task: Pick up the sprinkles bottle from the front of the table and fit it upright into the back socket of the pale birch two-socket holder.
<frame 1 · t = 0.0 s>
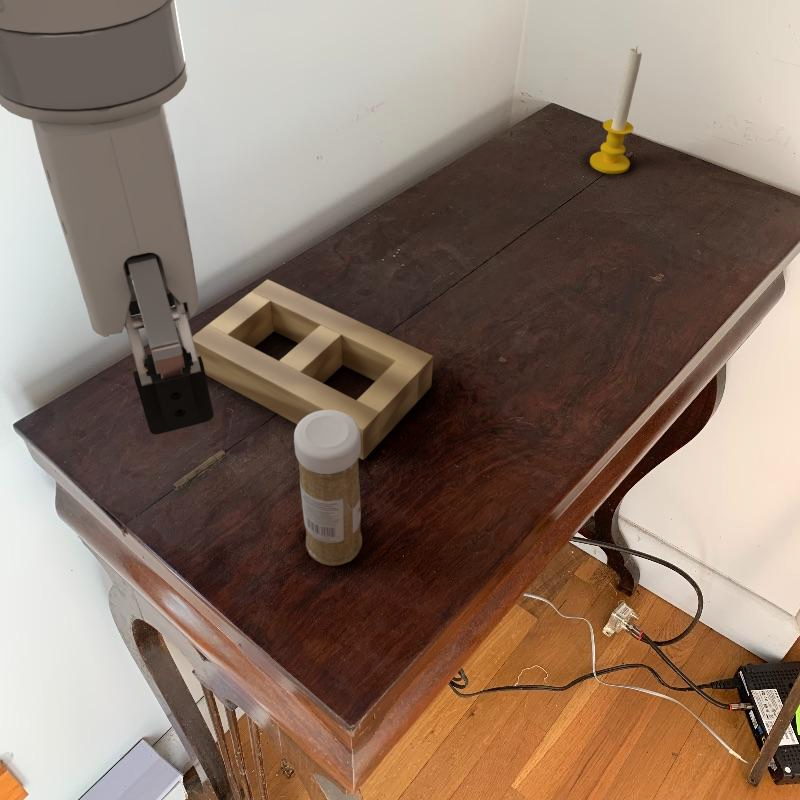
hand: (164, 362, 44), 24 cm above the table, tool pointing down, fingers open, 9 cm apart
sprinkles bottle: (333, 545, 64), on the table
candle: (609, 165, 107), on the table
holder: (313, 378, 77), on the table
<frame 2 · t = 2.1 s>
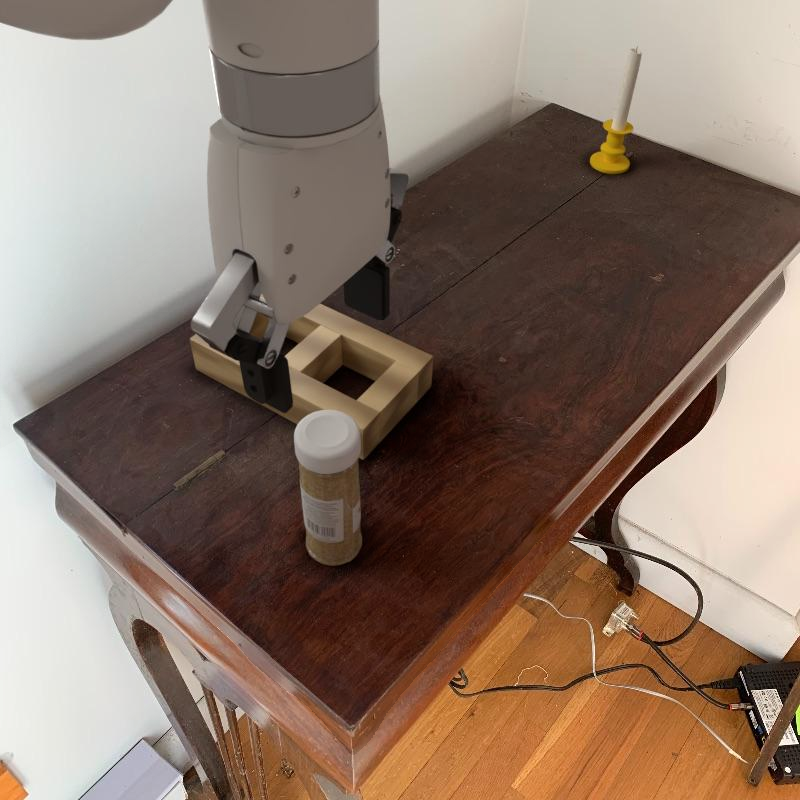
hand: (320, 353, 49), 21 cm above the table, tool pointing down, fingers open, 9 cm apart
nothing on the table moved.
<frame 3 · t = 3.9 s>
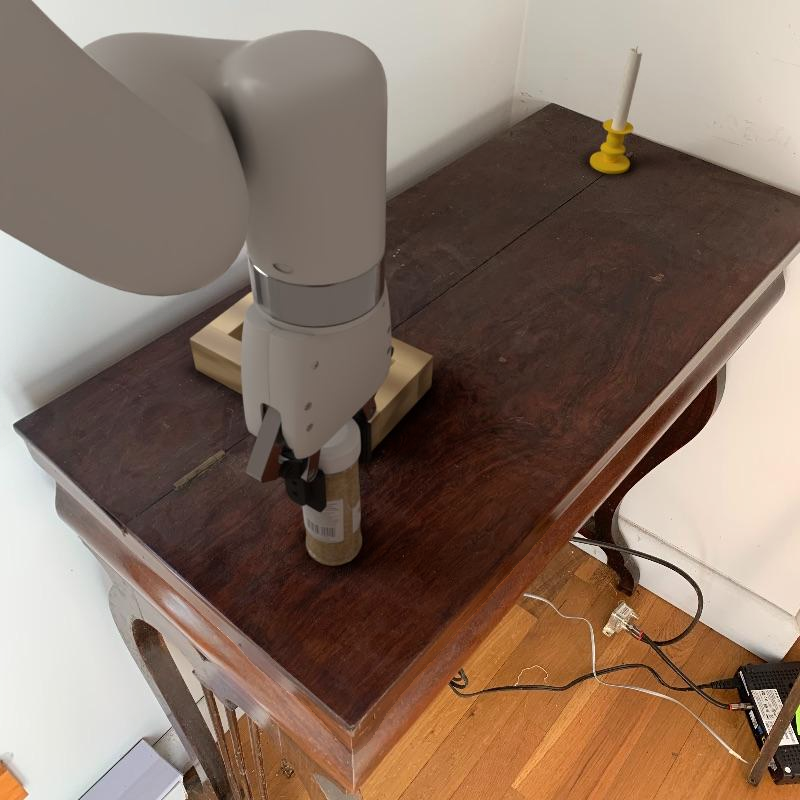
hand: (329, 474, 58), 9 cm above the table, tool pointing down, fingers closed on sprinkles bottle, 4 cm apart
sprinkles bottle: (333, 545, 64), on the table, touching gripper
everything else where it was.
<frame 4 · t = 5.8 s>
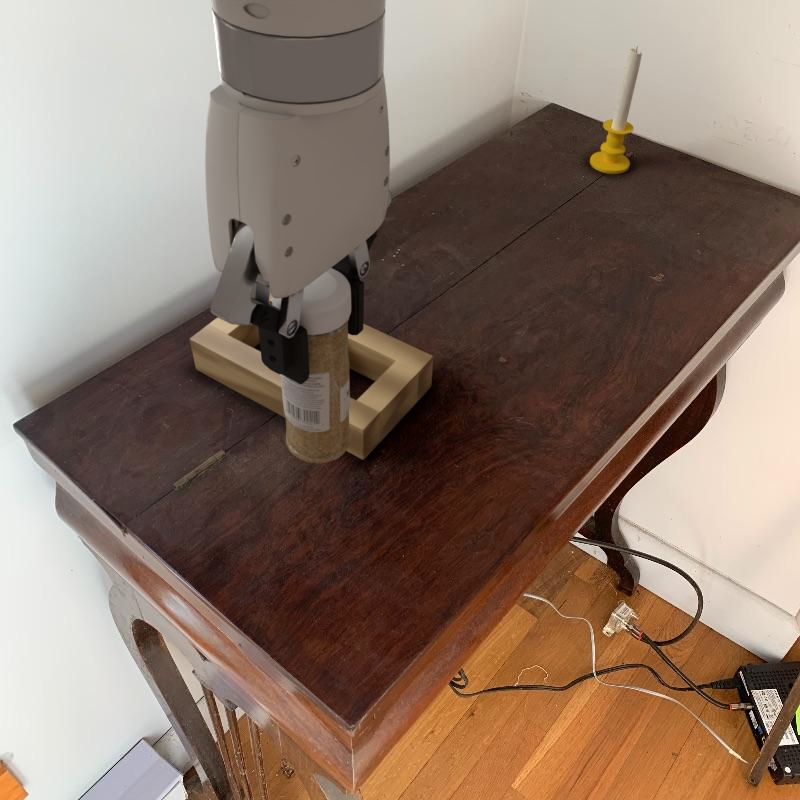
hand: (313, 345, 49), 21 cm above the table, tool pointing down, fingers closed on sprinkles bottle, 4 cm apart
sprinkles bottle: (317, 442, 56), point 12 cm above the table, touching gripper
everything else where it was.
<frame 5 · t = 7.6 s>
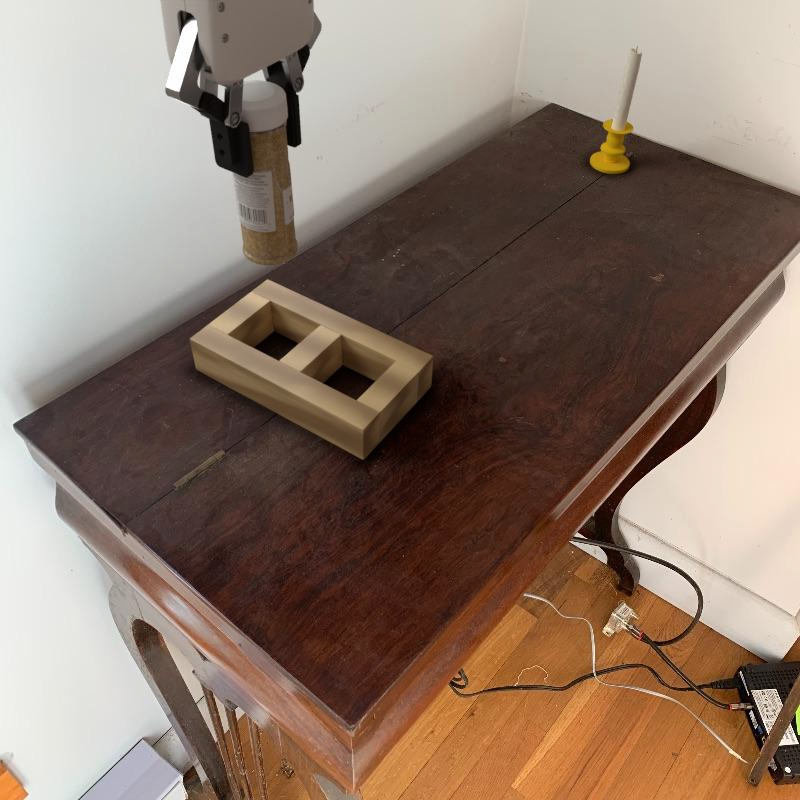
hand: (259, 153, 59), 24 cm above the table, tool pointing down, fingers closed on sprinkles bottle, 4 cm apart
sprinkles bottle: (270, 253, 66), point 15 cm above the table, touching gripper
everything else where it was.
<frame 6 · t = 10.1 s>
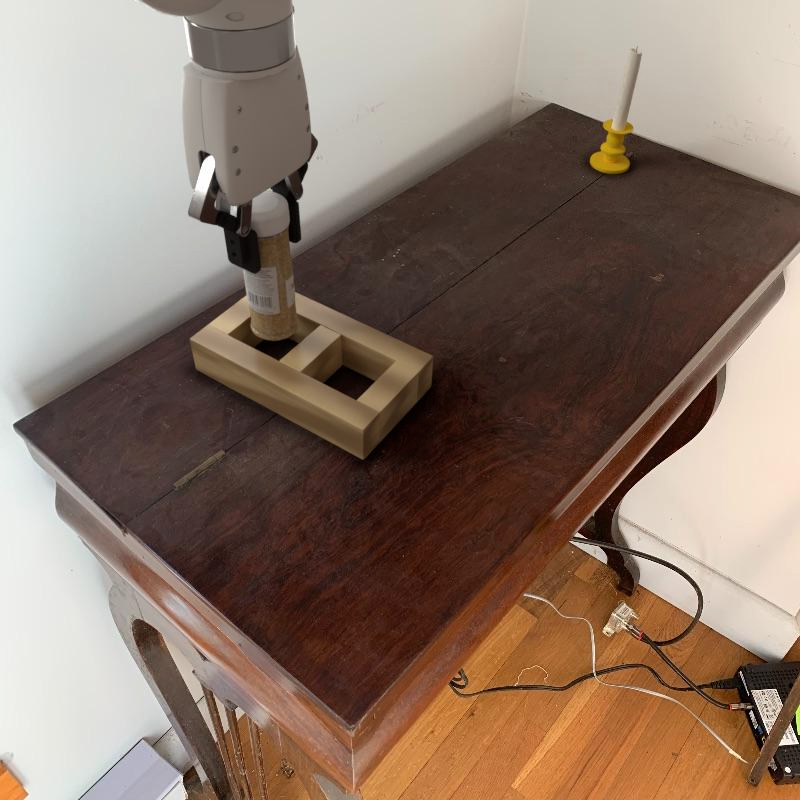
hand: (265, 249, 69), 13 cm above the table, tool pointing down, fingers closed on sprinkles bottle, 4 cm apart
sprinkles bottle: (274, 328, 76), point 4 cm above the table, touching gripper
everything else where it was.
when the fingers open (9 cm above the table, at t = 11.6 s): sprinkles bottle stays where it is, resting in holder.
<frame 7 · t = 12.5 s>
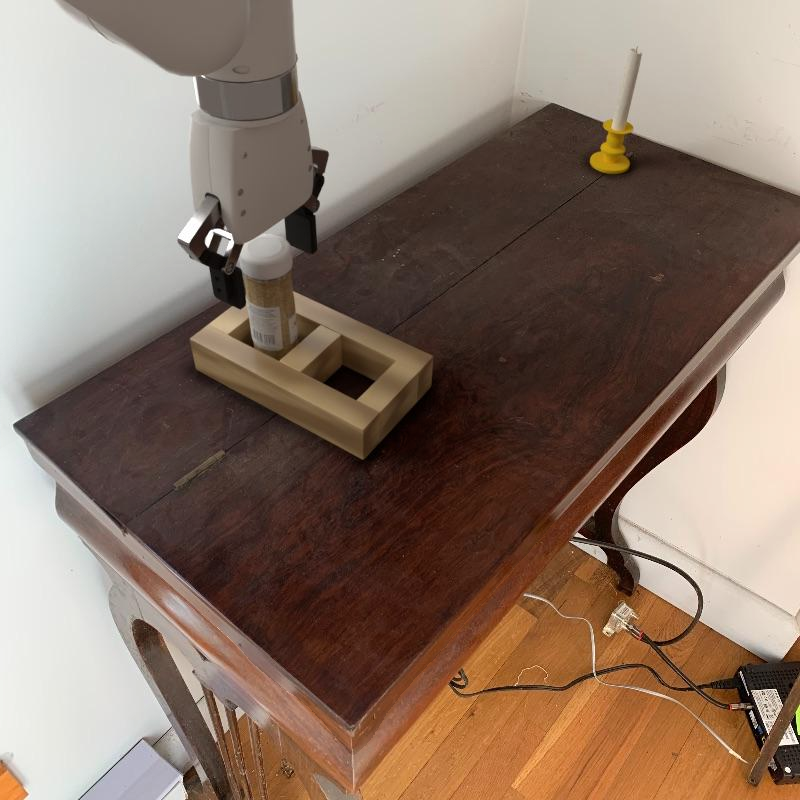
hand: (267, 274, 71), 11 cm above the table, tool pointing down, fingers open, 9 cm apart
sprinkles bottle: (277, 362, 79), resting in holder
everything else where it was.
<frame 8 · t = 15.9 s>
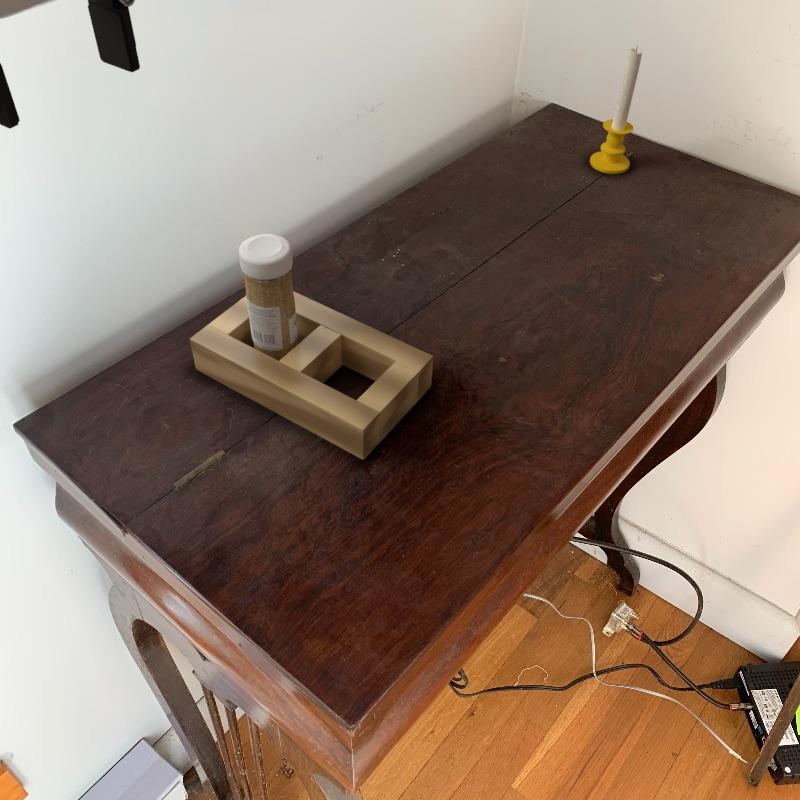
hand: (63, 91, 52), 30 cm above the table, tool pointing down, fingers open, 9 cm apart
nothing on the table moved.
at the end: sprinkles bottle 0.1 cm from the target spot in the holder, point 0.0 cm above the holder's base; sprinkles bottle tilted 0°; candle tilted 0° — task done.
